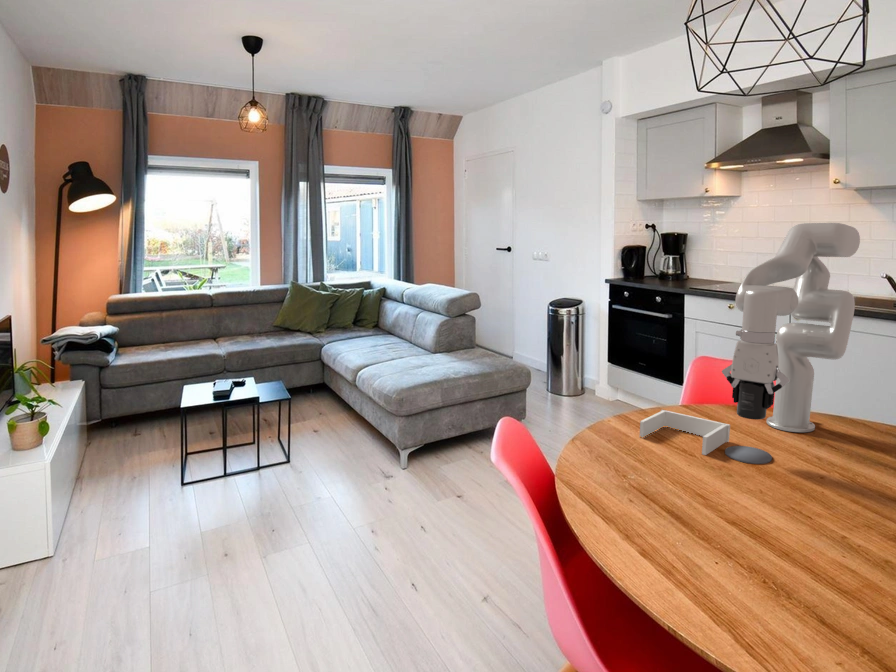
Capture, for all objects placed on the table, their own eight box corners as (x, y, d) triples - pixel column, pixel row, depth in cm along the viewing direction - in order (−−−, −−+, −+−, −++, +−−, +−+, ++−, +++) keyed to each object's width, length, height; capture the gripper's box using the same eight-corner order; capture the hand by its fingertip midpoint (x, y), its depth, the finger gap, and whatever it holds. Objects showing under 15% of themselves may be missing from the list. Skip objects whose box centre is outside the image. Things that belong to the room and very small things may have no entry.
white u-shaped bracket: (661, 425, 175) (662, 409, 174) (728, 441, 160) (730, 424, 159) (637, 437, 165) (638, 420, 164) (707, 455, 150) (708, 437, 150)
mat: (734, 444, 158) (734, 442, 158) (777, 455, 150) (777, 453, 150) (718, 455, 150) (718, 453, 150) (763, 467, 142) (763, 465, 142)
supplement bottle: (772, 419, 145) (776, 374, 143) (747, 421, 144) (751, 375, 142) (754, 411, 152) (758, 367, 150) (730, 412, 151) (734, 369, 149)
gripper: (716, 335, 148) (712, 400, 151) (791, 343, 136) (784, 415, 139) (728, 331, 153) (723, 395, 156) (800, 339, 141) (793, 408, 144)
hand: (752, 404), depth 147 cm, fingers closed on supplement bottle, 6 cm apart
